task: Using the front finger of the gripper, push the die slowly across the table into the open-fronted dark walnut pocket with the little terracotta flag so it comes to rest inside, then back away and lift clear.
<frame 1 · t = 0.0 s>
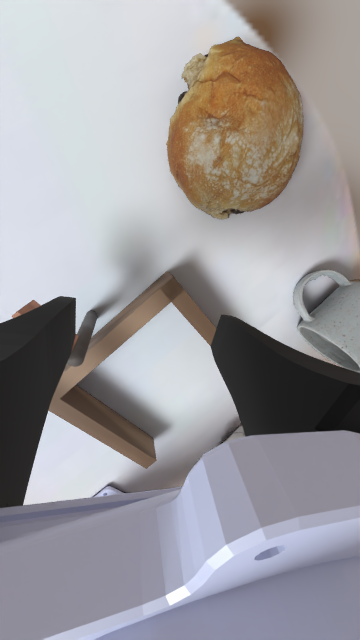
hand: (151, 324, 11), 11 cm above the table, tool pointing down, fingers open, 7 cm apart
bread roll: (221, 150, 19), on the table
ceramic mug: (316, 308, 27), on the table
pocket: (158, 374, 25), on the table
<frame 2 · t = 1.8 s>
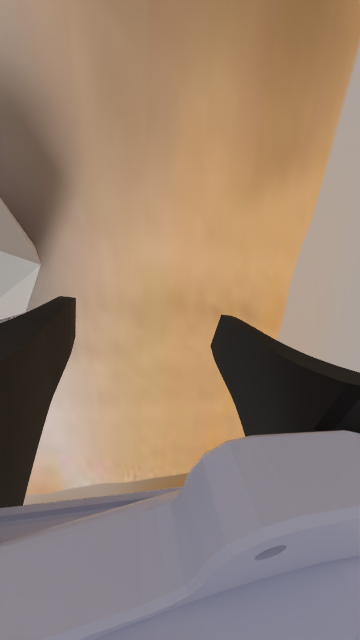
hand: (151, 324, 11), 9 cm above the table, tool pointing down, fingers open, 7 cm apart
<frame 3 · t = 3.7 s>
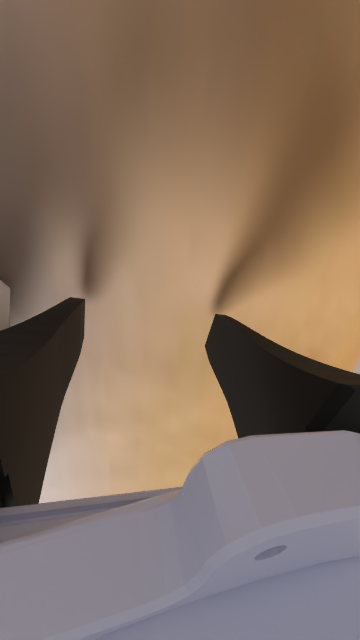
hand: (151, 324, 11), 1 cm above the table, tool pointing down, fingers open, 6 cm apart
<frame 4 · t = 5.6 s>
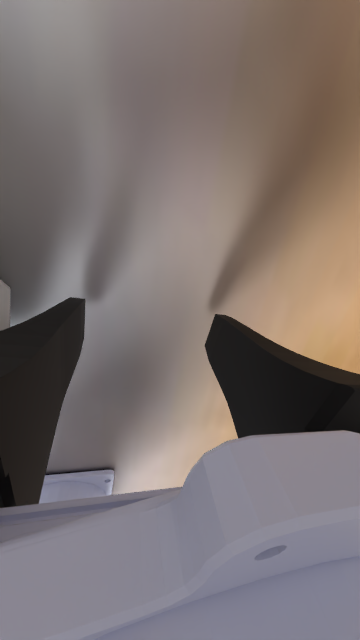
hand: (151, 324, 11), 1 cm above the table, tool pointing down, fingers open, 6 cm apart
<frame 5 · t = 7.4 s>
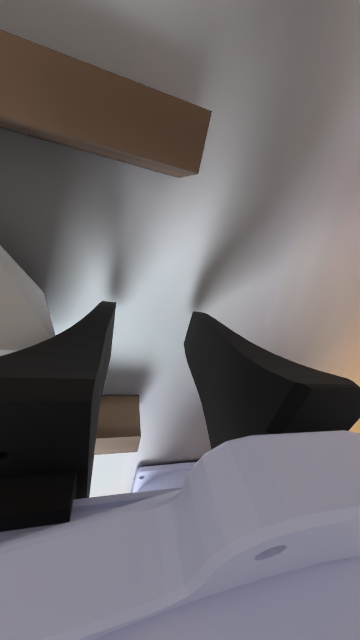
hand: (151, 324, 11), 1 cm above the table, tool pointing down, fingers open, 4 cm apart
pocket: (18, 298, 11), on the table
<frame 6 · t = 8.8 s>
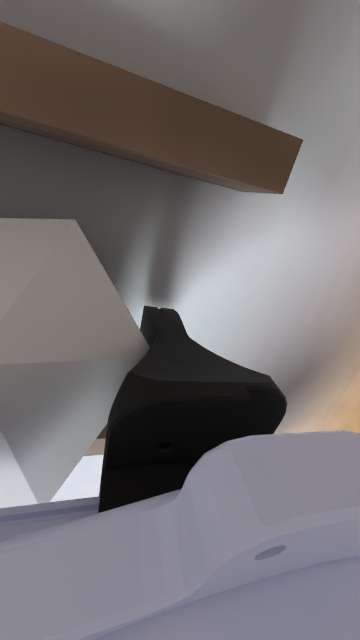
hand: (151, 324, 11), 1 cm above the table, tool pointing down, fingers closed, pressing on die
die: (47, 299, 11), on the table, touching gripper, pocket
pocket: (87, 305, 11), on the table
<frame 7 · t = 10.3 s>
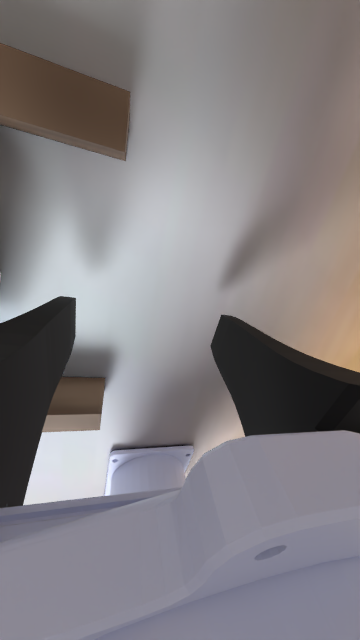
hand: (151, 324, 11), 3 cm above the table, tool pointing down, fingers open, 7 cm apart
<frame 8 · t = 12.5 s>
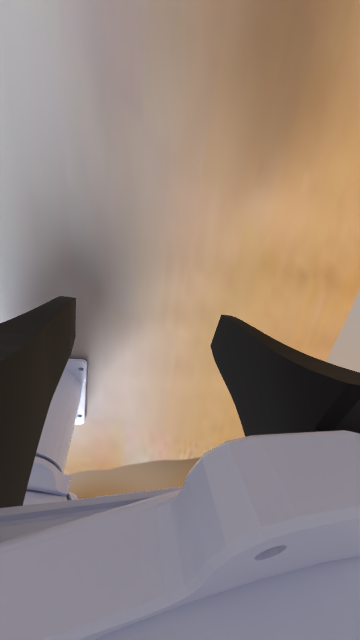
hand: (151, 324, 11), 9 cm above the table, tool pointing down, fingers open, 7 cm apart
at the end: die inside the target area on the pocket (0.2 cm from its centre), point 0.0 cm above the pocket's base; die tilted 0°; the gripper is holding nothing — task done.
